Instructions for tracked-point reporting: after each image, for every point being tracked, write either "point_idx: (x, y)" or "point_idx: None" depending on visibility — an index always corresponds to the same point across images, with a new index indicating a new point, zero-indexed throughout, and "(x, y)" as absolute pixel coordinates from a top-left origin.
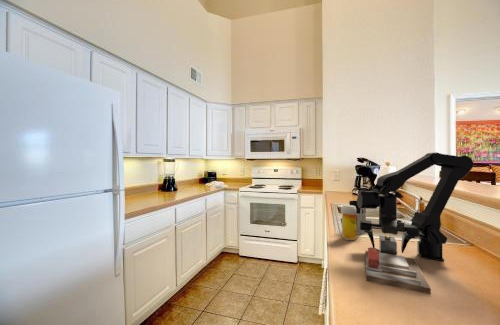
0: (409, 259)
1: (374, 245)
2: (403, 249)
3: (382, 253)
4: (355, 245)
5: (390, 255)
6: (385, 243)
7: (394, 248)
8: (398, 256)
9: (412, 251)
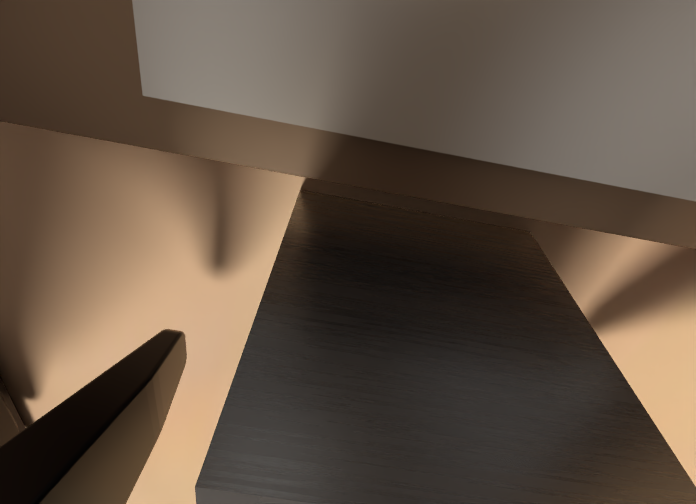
0: (55, 22)
1: None
2: (127, 372)
3: (634, 149)
4: None
5: (487, 45)
6: (549, 452)
7: (308, 319)
8: (286, 33)
9: None
